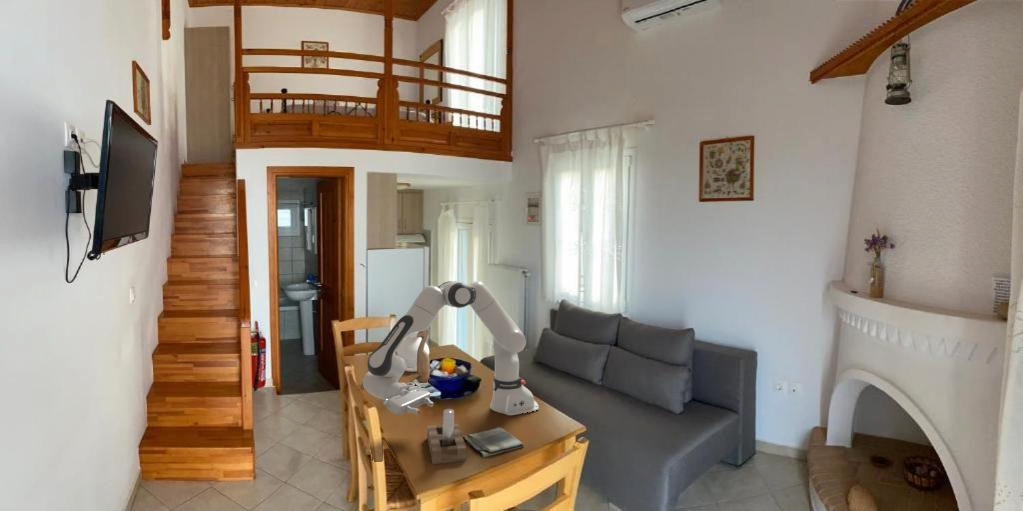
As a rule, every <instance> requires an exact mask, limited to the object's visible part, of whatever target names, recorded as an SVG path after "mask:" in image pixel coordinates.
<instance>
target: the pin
mask: <svg viewBox="0 0 1023 511" xmlns="http://www.w3.org/2000/svg"><path fill="white" fill-rule="evenodd" d="M442 415H443V416H442V425H443V439H442V447H447V446H453V438H454V424H455V410H454V409H453V408H446V409H444V410H443V414H442Z"/></svg>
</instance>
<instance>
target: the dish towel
mask: <svg viewBox="0 0 1023 511" xmlns="http://www.w3.org/2000/svg"><path fill="white" fill-rule="evenodd" d="M462 437H463V438H466V439H467V440H465V441H466V443H467V442H468V443H469V444H470V445H471V446H472V448H474V449H473V450H474V451H475V450H476V451H477V452H476V451H475V452H476V453H477V454H480V455H481V456H482V458H487V457H492V456H495V455H497V454H501V453H504V452H509V451H513V450H517V449H521V448H523V447H524V446H525V444H524V443H523V442H522V441H520V440H519V439H518V438H517V437H515V436H514V435H513V434H511V433H510V432H508V431H507V430H505V429H504V428H502V427H500V426H498V427H495V428H493V429H488V430H484V431H479V432H475V433H468V434H467V435H462ZM469 444H468V445H469ZM470 445H469V446H470ZM471 446H470V447H471Z"/></svg>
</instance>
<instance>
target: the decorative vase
mask: <svg viewBox="0 0 1023 511" xmlns="http://www.w3.org/2000/svg"><path fill="white" fill-rule="evenodd" d="M417 334H418V332H413V333H410V334H409V335H407V336H406V337H405V338H404V340H403V341H402V342H401V344H400V345H399V347H398V348H397V349H396V351H397V352H396V353H397V354H396V355H397V356H399V357H402V358H403V359H404V361H405V363H406V369H405V372H417V351H418V347H419V345H420V342H421V340H422V337H418V338H417ZM424 351H425V352H426V353H427V354H428V355H430V347H429V346H428V344H427V342H425V345H424Z"/></svg>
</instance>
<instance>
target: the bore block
mask: <svg viewBox="0 0 1023 511" xmlns="http://www.w3.org/2000/svg"><path fill="white" fill-rule="evenodd" d="M426 429H427V432H426V435H427V438H426V439H427V440H426V441H427V444H428V449H429V453H430V459H431V464H432V465H436V464H446V463H458V462H459V463H460V462H466V461H467V446H466V442H465V439H463V434H462V431H461V429H460V426H459V424H458V423H454V438H453V446H447V447H442V439H443V424H438V425H427V428H426Z"/></svg>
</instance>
